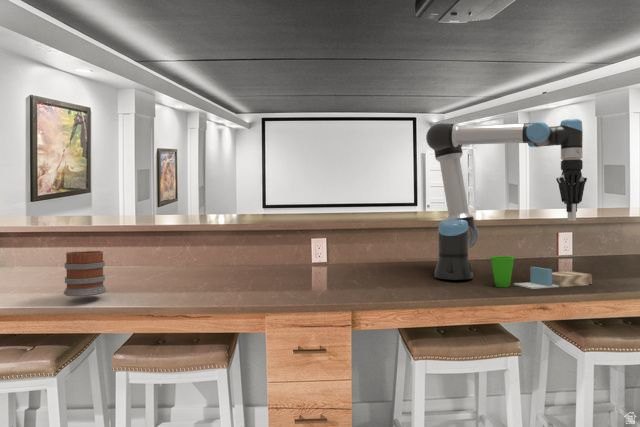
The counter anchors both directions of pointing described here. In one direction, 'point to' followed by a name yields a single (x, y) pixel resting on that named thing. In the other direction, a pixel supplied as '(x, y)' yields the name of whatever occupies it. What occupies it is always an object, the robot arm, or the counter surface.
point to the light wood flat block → (571, 278)
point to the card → (541, 276)
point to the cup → (502, 270)
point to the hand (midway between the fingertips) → (571, 220)
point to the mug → (84, 273)
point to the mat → (534, 285)
